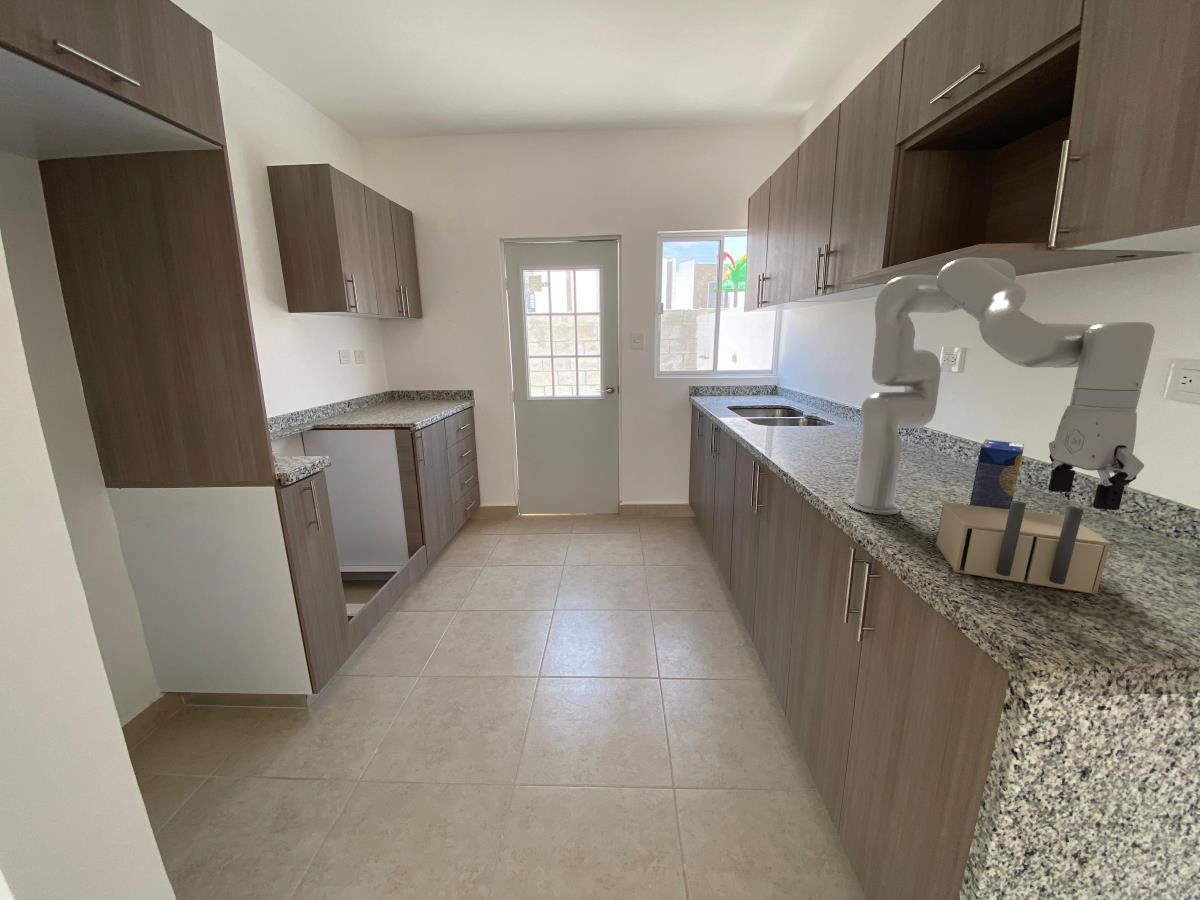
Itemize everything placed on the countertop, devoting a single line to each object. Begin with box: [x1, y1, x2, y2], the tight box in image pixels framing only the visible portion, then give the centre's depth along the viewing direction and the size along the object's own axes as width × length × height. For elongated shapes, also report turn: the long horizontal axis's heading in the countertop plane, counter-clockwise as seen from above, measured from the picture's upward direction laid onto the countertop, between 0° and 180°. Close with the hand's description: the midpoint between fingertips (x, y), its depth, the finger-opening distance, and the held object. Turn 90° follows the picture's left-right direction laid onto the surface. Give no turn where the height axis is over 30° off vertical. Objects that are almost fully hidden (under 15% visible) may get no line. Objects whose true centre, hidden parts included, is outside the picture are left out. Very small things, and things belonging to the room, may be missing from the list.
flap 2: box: [1026, 506, 1104, 594], centre depth 81 cm, size 2×9×16 cm, turn 67°
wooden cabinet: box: [935, 501, 1111, 595], centre depth 92 cm, size 14×21×10 cm, turn 67°
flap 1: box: [964, 500, 1034, 583], centre depth 85 cm, size 2×9×16 cm, turn 67°
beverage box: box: [969, 439, 1025, 509], centre depth 104 cm, size 7×11×22 cm, turn 137°
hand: (1081, 499), depth 79 cm, fingers open, 9 cm apart
